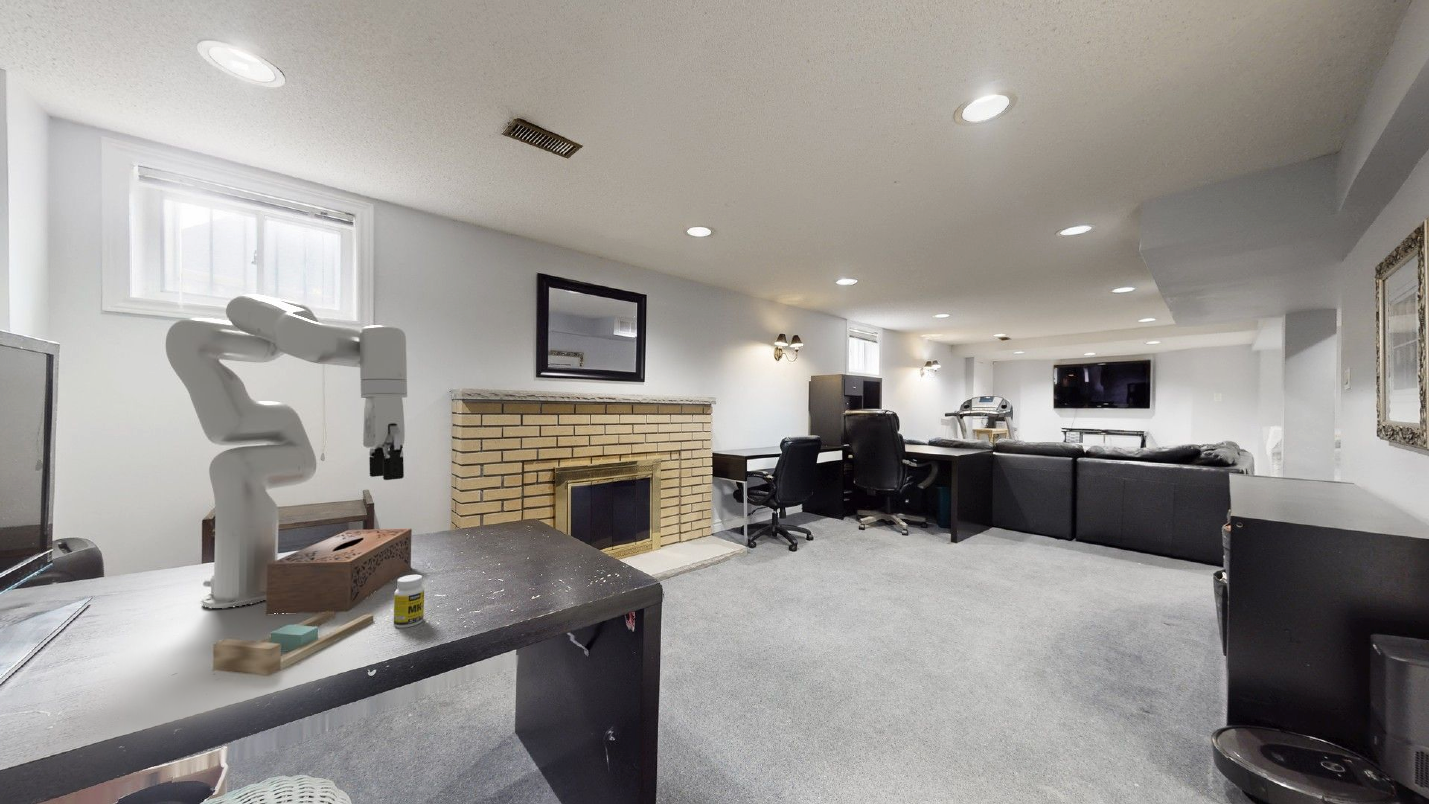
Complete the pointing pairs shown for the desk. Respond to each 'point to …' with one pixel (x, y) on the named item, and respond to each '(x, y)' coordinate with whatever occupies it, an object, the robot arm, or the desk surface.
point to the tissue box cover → (337, 571)
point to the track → (276, 648)
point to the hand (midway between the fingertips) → (386, 477)
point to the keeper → (293, 636)
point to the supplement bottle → (409, 601)
